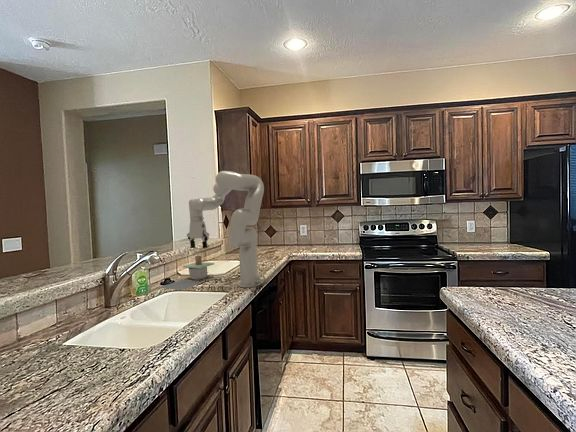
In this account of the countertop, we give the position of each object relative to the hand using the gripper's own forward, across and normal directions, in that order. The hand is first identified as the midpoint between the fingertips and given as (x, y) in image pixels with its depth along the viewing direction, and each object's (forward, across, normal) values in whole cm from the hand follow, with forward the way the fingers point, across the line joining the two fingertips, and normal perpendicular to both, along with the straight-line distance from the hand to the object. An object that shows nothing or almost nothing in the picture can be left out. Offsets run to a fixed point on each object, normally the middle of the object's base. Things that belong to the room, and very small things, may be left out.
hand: (198, 247), depth 200 cm
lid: (+11, +1, 0) cm, 11 cm away
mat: (+19, -1, +17) cm, 25 cm away
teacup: (+19, +1, 0) cm, 19 cm away
